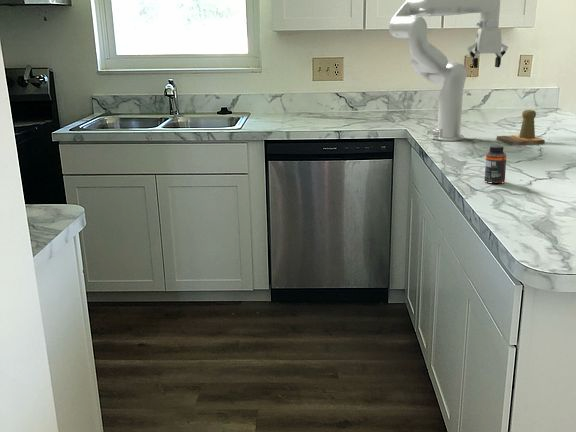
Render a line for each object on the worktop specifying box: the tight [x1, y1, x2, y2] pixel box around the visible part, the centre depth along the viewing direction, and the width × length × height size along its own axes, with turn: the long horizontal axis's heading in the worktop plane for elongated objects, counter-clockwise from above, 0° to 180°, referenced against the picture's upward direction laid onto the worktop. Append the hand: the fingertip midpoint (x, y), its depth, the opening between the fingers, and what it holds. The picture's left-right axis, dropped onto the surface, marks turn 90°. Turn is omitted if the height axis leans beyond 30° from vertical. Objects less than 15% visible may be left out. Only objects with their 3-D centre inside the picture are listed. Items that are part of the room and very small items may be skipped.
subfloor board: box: [496, 134, 546, 146], centre depth 253 cm, size 14×13×2 cm
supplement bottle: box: [484, 144, 507, 184], centre depth 190 cm, size 6×6×11 cm
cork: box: [518, 109, 537, 139], centre depth 252 cm, size 6×6×11 cm
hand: (486, 67), depth 265 cm, fingers open, 9 cm apart
